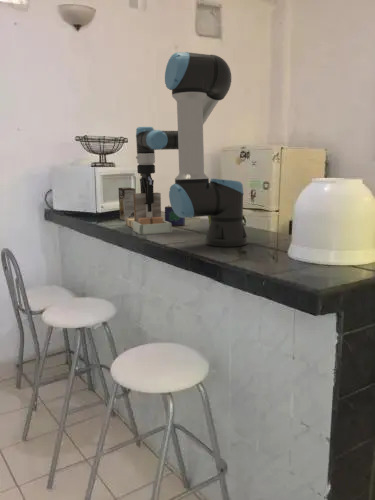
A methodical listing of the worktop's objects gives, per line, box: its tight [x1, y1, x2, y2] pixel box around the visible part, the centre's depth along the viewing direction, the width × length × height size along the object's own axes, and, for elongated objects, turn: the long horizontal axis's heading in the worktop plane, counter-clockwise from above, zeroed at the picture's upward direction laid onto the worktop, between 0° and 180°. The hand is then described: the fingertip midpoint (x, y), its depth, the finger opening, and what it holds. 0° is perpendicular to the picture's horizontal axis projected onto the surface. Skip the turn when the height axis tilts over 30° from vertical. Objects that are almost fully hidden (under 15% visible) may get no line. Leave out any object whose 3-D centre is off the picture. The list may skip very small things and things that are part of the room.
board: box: [124, 218, 151, 229], centre depth 211 cm, size 20×11×3 cm, turn 21°
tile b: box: [138, 217, 150, 225], centre depth 197 cm, size 5×4×3 cm
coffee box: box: [117, 187, 137, 222], centre depth 233 cm, size 9×6×16 cm
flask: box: [164, 204, 186, 227], centre depth 212 cm, size 9×3×11 cm, turn 87°
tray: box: [132, 219, 173, 236], centre depth 196 cm, size 12×14×4 cm
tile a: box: [151, 216, 164, 224], centre depth 199 cm, size 5×4×3 cm
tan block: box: [133, 192, 162, 222], centre depth 201 cm, size 4×11×12 cm, turn 111°
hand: (147, 218), depth 202 cm, fingers closed on tan block, 4 cm apart
